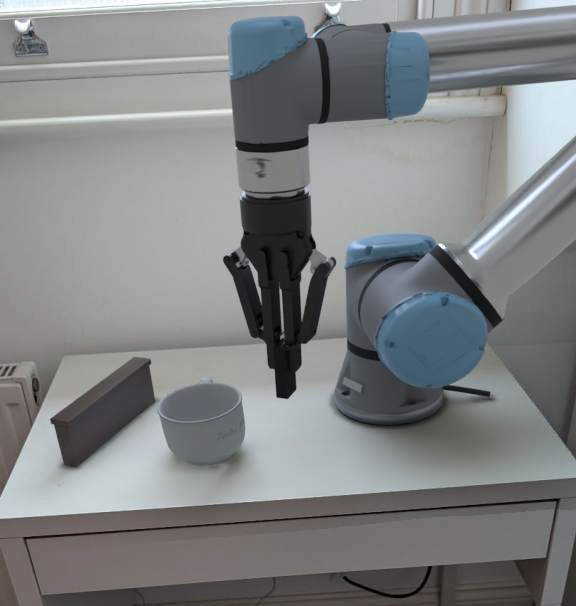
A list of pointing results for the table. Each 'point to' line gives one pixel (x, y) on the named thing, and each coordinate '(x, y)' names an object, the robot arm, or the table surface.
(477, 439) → the table surface
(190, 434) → the teacup
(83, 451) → the back rail
